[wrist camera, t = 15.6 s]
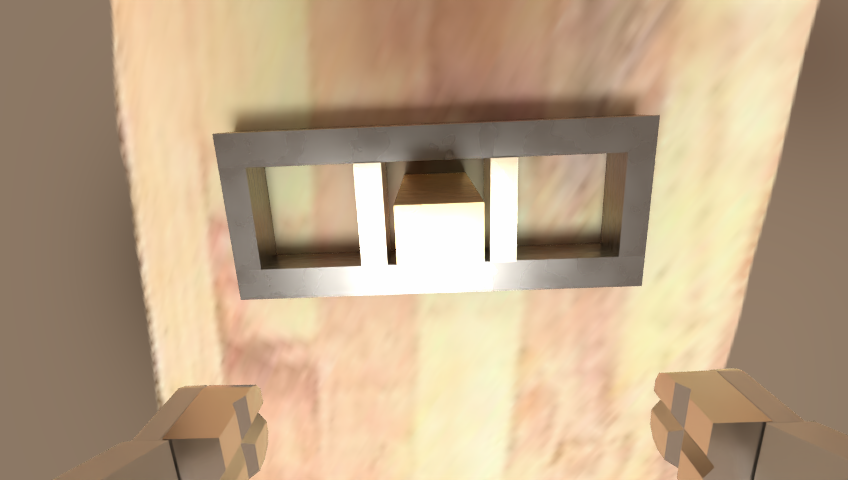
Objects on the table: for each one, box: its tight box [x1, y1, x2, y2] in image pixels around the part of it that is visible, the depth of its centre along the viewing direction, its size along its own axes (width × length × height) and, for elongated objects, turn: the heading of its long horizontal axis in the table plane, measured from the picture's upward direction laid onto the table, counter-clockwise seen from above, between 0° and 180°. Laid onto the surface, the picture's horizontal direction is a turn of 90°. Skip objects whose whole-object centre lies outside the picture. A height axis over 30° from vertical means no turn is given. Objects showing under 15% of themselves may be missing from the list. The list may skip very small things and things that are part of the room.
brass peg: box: [394, 172, 485, 290], centre depth 25 cm, size 4×4×10 cm
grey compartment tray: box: [213, 115, 660, 300], centre depth 28 cm, size 10×26×3 cm, turn 92°
